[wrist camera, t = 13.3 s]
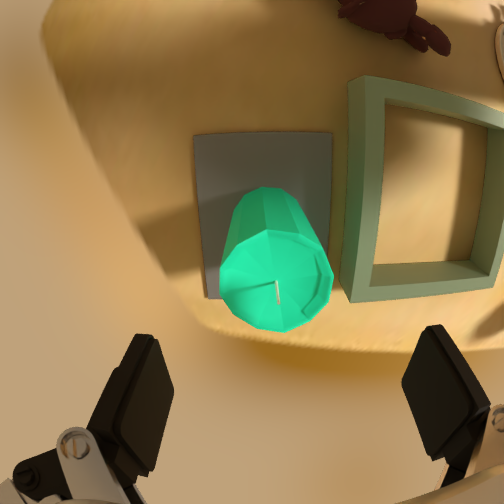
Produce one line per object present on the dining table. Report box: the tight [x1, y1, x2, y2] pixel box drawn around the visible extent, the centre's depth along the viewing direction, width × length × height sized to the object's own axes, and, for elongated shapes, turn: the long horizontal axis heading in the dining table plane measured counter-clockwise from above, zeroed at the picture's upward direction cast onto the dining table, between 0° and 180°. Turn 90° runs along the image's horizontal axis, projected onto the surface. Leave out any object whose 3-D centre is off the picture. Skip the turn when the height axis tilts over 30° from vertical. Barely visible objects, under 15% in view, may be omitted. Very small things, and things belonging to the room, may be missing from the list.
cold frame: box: [339, 75, 504, 303], centre depth 21 cm, size 18×18×4 cm
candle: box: [219, 187, 334, 333], centre depth 19 cm, size 6×6×12 cm
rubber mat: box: [193, 132, 332, 299], centre depth 24 cm, size 15×11×1 cm
